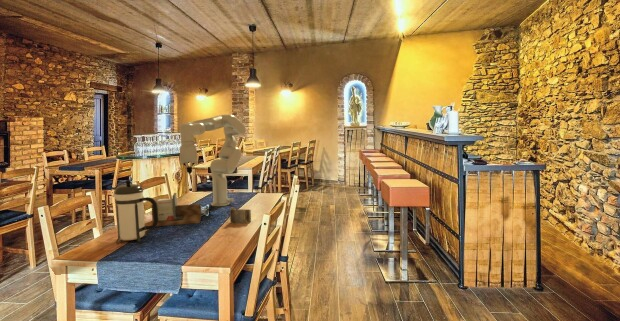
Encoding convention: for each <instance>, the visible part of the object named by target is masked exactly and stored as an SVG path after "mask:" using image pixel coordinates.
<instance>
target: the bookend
mask: <svg viewBox="0 0 620 321" xmlns="http://www.w3.org/2000/svg"><path fill="white" fill-rule="evenodd" d="M177 198H178V196H177V192H174V193H173V195H172V198H171V199H173V218H174V220H183V219H184V216H185V214H184V215H178V213H177V205H178V199H177Z"/></svg>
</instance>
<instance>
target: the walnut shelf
mask: <svg viewBox="0 0 620 321" xmlns="http://www.w3.org/2000/svg"><path fill="white" fill-rule="evenodd" d="M159 199H160V198H156V199H154V200H155V201H156V204H157V201H158V200H159ZM157 211H158V209H157ZM177 213H178V215H184V214H185V216H184V219H183V220H163V221H158V223H157V225H156V227H161V226H162V227H163V226H175V225H177V226H178V225H188V224H189V225H191V224H200V223H201V219H202V204H201V203H193V204H191V203H190V204H177ZM151 218H152V221H151V222H152V224H153V223H154V214H153V205H152V204H151Z"/></svg>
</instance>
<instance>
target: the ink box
mask: <svg viewBox="0 0 620 321" xmlns="http://www.w3.org/2000/svg"><path fill="white" fill-rule="evenodd" d="M158 199H159V200H158V201H157V209H158V221H163V220H174V218H173V199H172V198H158Z"/></svg>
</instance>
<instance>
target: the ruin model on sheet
mask: <svg viewBox="0 0 620 321" xmlns="http://www.w3.org/2000/svg"><path fill="white" fill-rule="evenodd" d="M229 208H230V210H229V215H230V216H229V220H230V222H229V223H233V222H234V224H235V223H236V224H250V223H251V222H252V214H251V213H252V212H251V210H252V209H245V208H244V209H240V208H235V207H234V206H232V207H230V206H229Z"/></svg>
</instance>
